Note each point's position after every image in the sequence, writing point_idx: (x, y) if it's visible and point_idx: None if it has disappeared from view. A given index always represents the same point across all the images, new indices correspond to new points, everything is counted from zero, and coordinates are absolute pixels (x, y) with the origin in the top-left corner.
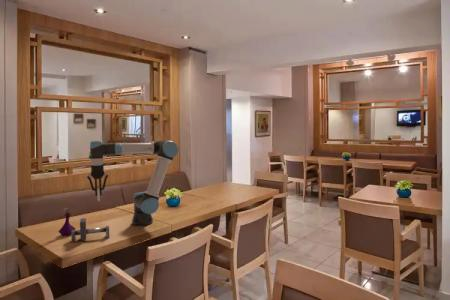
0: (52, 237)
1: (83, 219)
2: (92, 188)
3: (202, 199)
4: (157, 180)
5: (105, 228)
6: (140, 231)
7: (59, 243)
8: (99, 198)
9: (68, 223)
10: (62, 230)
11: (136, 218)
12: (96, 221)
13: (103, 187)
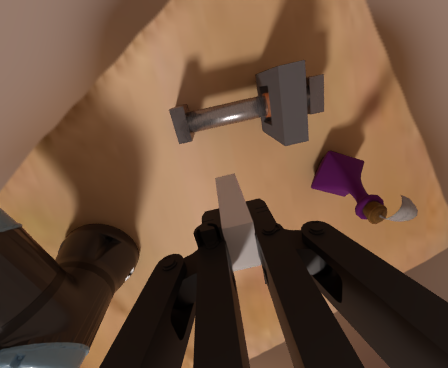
0: (370, 150)
1: (293, 122)
2: (336, 238)
3: None
4: None
5: (187, 116)
6: (75, 162)
7: (344, 77)
8: (220, 185)
9: (346, 181)
10: (353, 160)
11: (106, 249)
12: (258, 279)
13: (164, 281)
